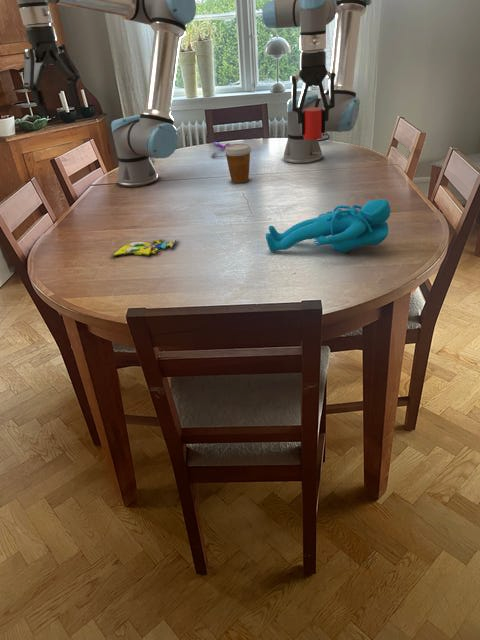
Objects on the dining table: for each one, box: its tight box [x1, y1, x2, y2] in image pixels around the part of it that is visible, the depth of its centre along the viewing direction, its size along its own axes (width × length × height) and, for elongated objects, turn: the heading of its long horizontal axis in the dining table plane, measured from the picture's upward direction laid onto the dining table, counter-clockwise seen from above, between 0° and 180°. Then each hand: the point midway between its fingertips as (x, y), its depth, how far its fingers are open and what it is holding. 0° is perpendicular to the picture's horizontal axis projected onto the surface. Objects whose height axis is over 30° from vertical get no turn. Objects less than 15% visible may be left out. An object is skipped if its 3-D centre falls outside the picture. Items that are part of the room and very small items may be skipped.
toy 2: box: [265, 198, 392, 254], centre depth 118 cm, size 17×11×30 cm
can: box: [303, 107, 323, 140], centre depth 153 cm, size 6×6×9 cm
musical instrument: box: [211, 141, 233, 158], centre depth 212 cm, size 24×2×20 cm
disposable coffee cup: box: [223, 142, 252, 184], centre depth 171 cm, size 10×10×12 cm
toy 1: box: [112, 238, 177, 258], centre depth 129 cm, size 10×1×15 cm
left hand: (61, 111), depth 140 cm, fingers open, 13 cm apart
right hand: (312, 132), depth 154 cm, fingers closed on can, 6 cm apart
